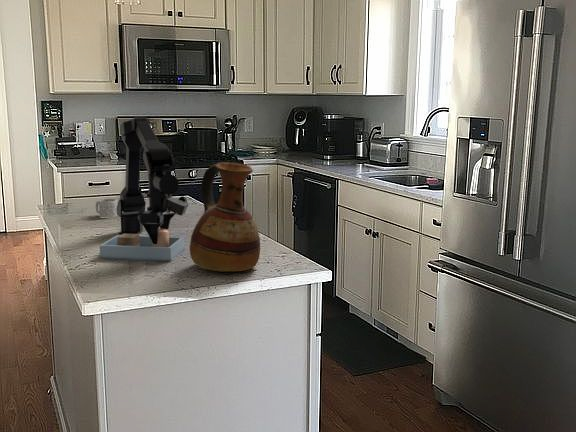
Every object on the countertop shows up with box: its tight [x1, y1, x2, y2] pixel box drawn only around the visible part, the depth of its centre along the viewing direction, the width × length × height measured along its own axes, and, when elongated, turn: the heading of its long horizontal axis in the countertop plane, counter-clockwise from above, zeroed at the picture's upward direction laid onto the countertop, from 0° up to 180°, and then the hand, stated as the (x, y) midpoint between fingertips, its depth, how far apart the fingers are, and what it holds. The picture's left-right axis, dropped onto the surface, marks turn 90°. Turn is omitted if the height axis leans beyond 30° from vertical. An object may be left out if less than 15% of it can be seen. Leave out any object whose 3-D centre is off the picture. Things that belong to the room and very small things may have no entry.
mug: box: [95, 198, 118, 218], centre depth 247 cm, size 10×7×7 cm
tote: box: [99, 234, 185, 262], centre depth 193 cm, size 22×14×4 cm, turn 83°
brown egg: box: [152, 228, 170, 247], centre depth 192 cm, size 5×5×7 cm
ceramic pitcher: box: [189, 161, 261, 273], centre depth 176 cm, size 20×20×30 cm
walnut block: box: [117, 233, 140, 246], centre depth 193 cm, size 5×5×5 cm
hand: (160, 240), depth 192 cm, fingers open, 9 cm apart
